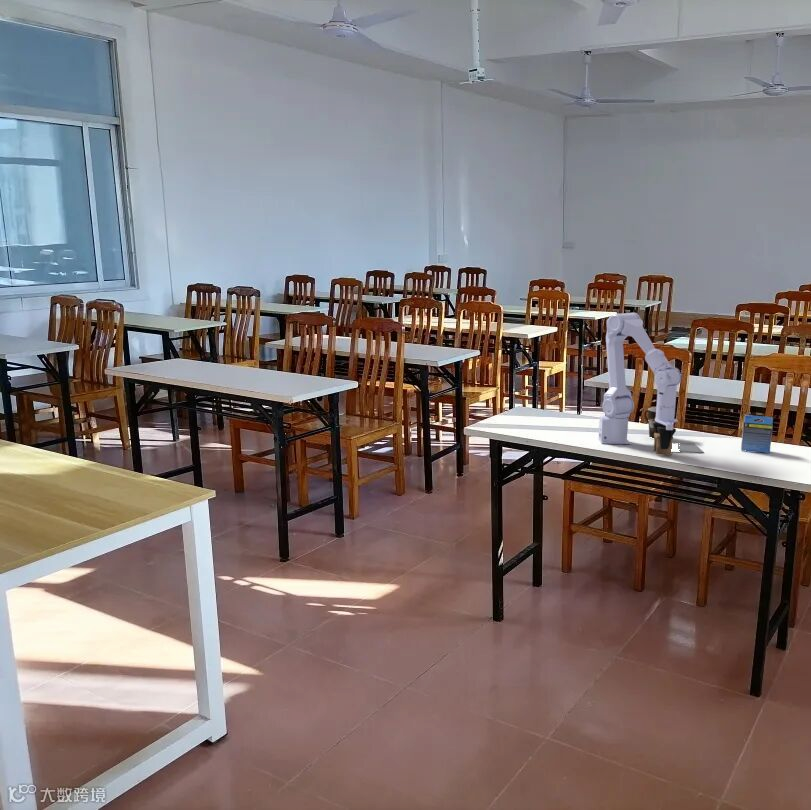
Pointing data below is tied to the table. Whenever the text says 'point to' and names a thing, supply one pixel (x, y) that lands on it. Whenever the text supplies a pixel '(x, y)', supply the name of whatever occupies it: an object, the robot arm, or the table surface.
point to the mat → (689, 448)
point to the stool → (658, 448)
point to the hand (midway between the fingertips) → (662, 446)
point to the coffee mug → (651, 420)
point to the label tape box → (757, 434)
